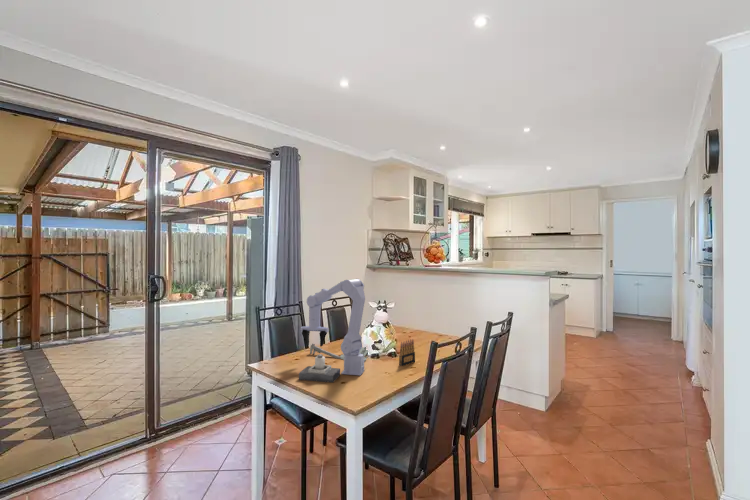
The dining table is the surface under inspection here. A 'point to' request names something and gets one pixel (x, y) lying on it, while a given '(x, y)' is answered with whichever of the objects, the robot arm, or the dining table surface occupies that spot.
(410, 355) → the ammunition clip
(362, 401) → the dining table surface
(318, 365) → the white capped cylinder
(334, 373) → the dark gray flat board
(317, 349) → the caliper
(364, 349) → the metal bracket
